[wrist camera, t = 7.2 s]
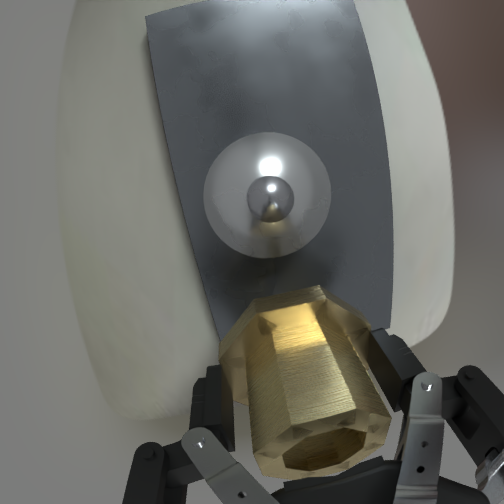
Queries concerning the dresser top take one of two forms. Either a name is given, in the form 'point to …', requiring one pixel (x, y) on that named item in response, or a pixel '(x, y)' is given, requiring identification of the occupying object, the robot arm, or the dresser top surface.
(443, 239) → the dresser top surface
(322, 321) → the brass octagonal tube
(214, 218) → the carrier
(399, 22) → the dresser top surface
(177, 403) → the dresser top surface
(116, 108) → the dresser top surface
